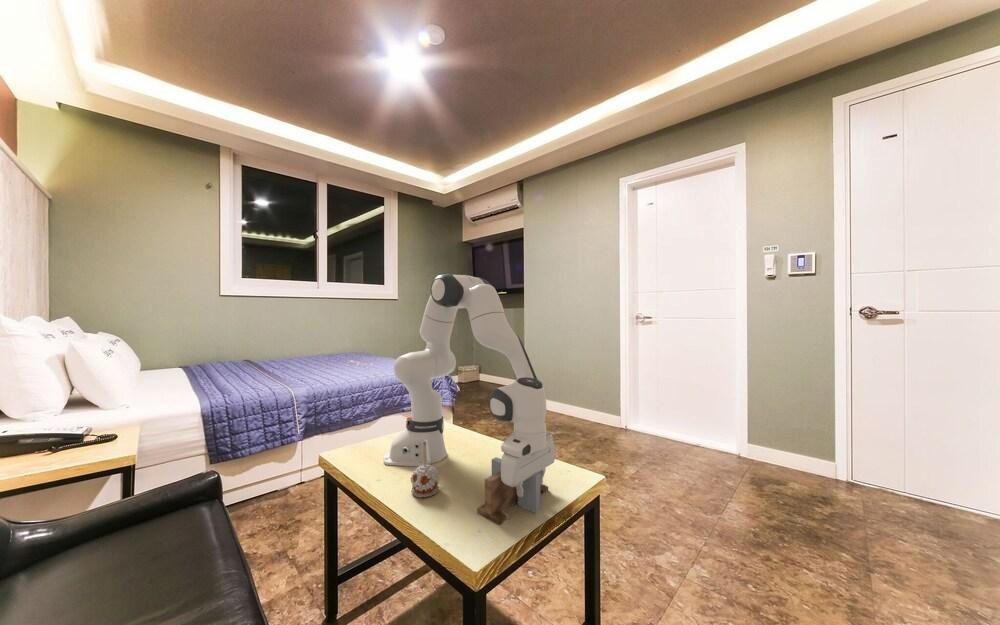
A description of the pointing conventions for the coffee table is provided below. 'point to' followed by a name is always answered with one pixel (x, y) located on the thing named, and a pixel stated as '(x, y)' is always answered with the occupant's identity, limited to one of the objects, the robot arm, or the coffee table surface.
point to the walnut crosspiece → (499, 498)
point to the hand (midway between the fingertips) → (530, 489)
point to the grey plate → (531, 489)
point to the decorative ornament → (425, 479)
